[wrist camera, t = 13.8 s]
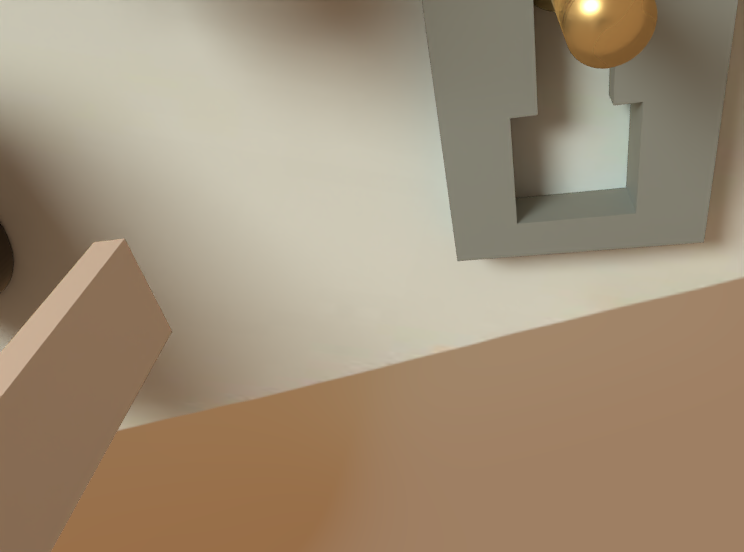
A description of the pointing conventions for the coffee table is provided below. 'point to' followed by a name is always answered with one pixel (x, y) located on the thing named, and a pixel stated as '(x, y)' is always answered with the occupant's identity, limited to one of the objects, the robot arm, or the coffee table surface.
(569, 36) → the brass peg
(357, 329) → the coffee table surface
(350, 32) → the coffee table surface
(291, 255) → the coffee table surface
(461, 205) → the keyhole board
